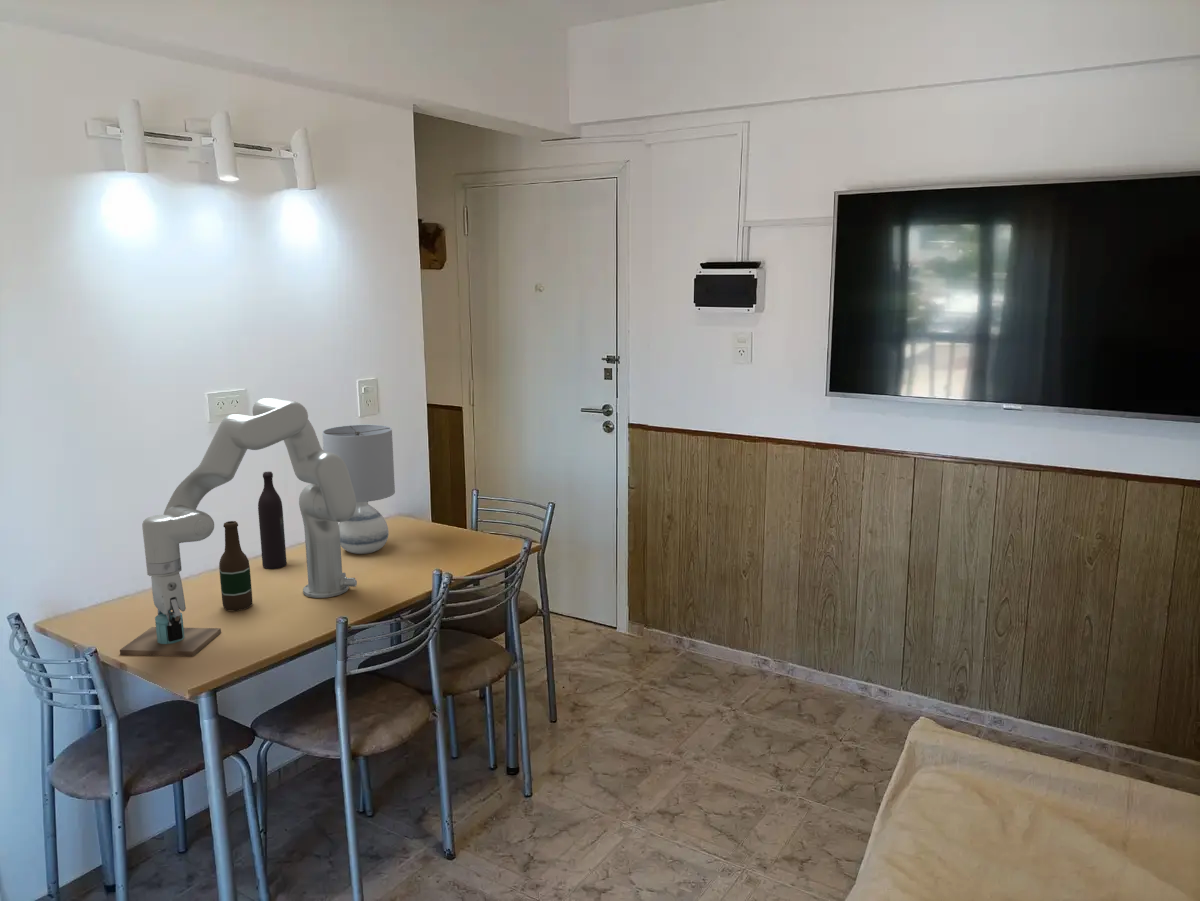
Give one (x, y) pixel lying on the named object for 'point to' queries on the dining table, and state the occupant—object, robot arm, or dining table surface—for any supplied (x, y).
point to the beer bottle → (234, 572)
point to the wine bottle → (271, 525)
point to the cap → (165, 629)
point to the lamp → (364, 481)
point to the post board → (185, 647)
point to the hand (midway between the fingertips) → (171, 634)
